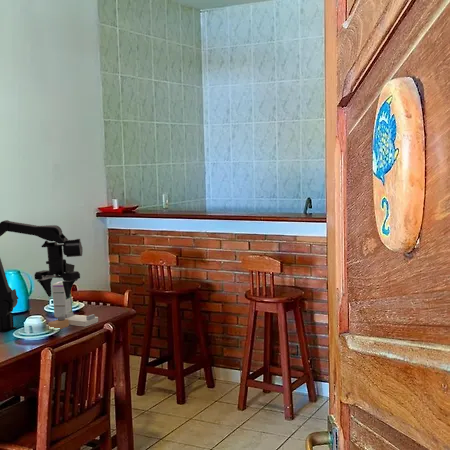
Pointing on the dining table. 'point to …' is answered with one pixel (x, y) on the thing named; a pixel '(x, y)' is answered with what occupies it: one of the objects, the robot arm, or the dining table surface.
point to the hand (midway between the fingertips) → (58, 297)
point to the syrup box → (61, 300)
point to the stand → (81, 319)
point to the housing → (59, 323)
